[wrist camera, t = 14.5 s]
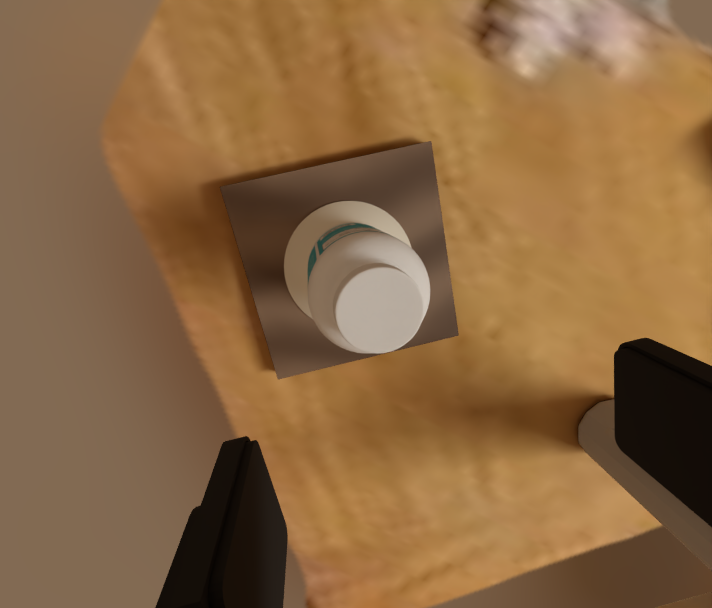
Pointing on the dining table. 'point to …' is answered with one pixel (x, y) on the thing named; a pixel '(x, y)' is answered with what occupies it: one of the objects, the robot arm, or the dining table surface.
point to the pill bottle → (366, 288)
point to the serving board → (317, 215)
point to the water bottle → (642, 482)
